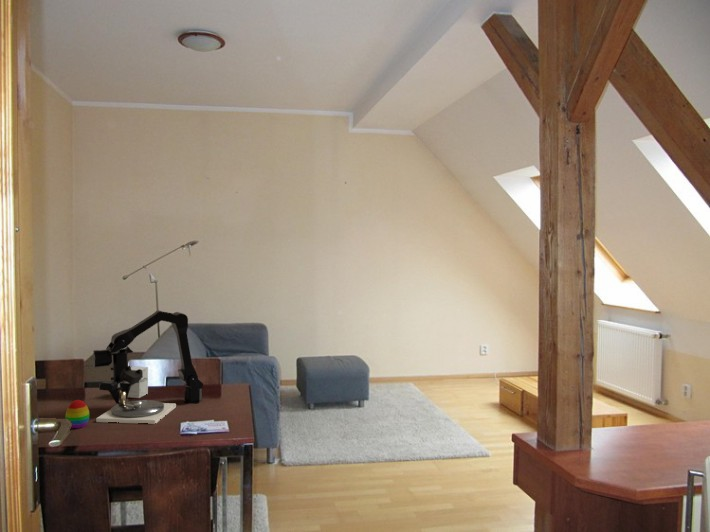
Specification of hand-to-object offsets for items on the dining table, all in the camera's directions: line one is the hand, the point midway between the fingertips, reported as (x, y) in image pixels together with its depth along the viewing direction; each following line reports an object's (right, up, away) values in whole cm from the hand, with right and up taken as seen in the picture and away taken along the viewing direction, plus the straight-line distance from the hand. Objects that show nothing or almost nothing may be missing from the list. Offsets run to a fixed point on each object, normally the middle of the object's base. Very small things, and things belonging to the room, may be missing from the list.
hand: (121, 401), depth 239 cm
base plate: (+8, -4, -3) cm, 10 cm away
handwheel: (+8, -2, -3) cm, 9 cm away
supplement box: (-3, -3, +24) cm, 25 cm away
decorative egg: (-9, -5, -19) cm, 22 cm away
